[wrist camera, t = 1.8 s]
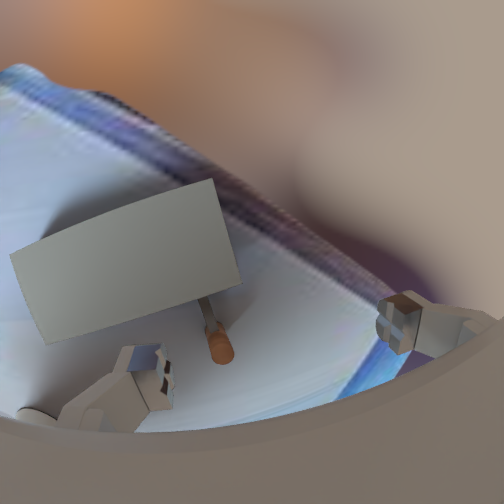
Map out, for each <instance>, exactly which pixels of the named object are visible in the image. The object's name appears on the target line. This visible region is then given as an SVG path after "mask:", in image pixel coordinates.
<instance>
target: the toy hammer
mask: <svg viewBox="0 0 504 504" xmlns="http://www.w3.org/2000/svg"><path fill="white" fill-rule="evenodd" d="M198 302H199V305H200V307H201V310H202V313H203V316H204V318H205V321H206V324H207V326H206V328H205V333H206V337H207V341H208V345H209V348H210V352H211V356H212V359H213V361H214V362H215V363H217V364H220V365H224V364H228V363H230V362H231V361H232V360H233V358H234V351H233V348H232V346H231V344H230V341H229V339H228V337H227V334H226V332H225V329H224V327H223V325H222V324H221V323H219V322H216V320H215V317H214V314H213V311H212V309H211V306H210V303H209V300H208V297H207V296H205V297H202V298H199V299H198Z"/></svg>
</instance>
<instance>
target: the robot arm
mask: <svg viewBox="0 0 504 504" xmlns="http://www.w3.org/2000/svg"><path fill="white" fill-rule="evenodd" d="M377 311H378V312H379V316H378V317H377V319H376V331H377V334H378V336H379V338H380V339H381V340H382V341H385V342H388V343H389V348H390V349H391V350H393V351H394V352H395V353H396V354H397V355H400V354H403V353H405V352H408V351H410V350H413V349H414V350H416V351H418V352H421V353H423V354H426V355H428V356H431V357H434V358H436V359H434V360H433V361H430V362H429V363H427V364H425V365H423V366H421V367H418V368H416V369H414V370H412V371H410V372H408V373H406V374H404V375H401V376H399V377H397V378H395V379H392V380H390V381H387V382H385V383H383V384H380V385H378V386H375V387H373V388H370V389H368V390H365V391H362V392H359V393H357V394H354V395H351V396H348V397H345V398H342V399H339V400H336V401H333V402H330V403H327V404H323V405H320V406H317V407H313V408H309V409H306V410H302V411H298V412H294V413H290V414H286V415H282V416H278V417H273V418H269V419H264V420H259V421H254V422H248V423H243V424H237V425H230V426H224V427H216V428H208V429H199V430H189V431H176V432H152V433H133V432H134V431H135V430H136V429H137V428H138V426H139V425H140V424H141V423H142V421H143V420H144V419H145V417H146V416H147V415H148V414H149V411H156V410H168V409H173V399H174V395H173V393H172V389H173V388H174V385H175V380H174V372H173V368H172V365H171V362H169V361H168V360H167V350H166V348H165V345H164V344H163V343H154V344H142V345H129V346H123V347H122V349H121V351H120V354H119V356H118V359H117V361H116V364H115V366H114V369H113V372H112V373H108V374H106V375H105V376H103V377H102V378H101V379H99V380H98V381H97V382H95V383H94V384H93V385H91V386H90V387H89V388H87V389H86V390H84V391H83V392H82V393H80V394H79V395H78V396H76V397H75V398H74V399H72V400H71V401H69V402H68V403H67V404H65V405H64V406H63V408H62V410H61V413H60V415H59V417H58V419H57V420H55V419H54V418H52V417H50V416H48V415H47V414H44V413H42V412H40V411H37V410H33V409H21V410H19V411H18V412H17V413H16V418H15V419H12V418H8V417H4V416H0V504H504V317H503V318H502V319H500V320H496V319H495V318H493V317H492V316H490V315H488V314H487V313H485V312H483V311H479V310H472V309H465V308H460V307H454V306H448V305H442V304H432V303H431V302H429V301H428V300H426V299H424V298H423V297H421V296H419V295H418V294H416V293H415V292H413V291H411V290H407V291H405V292H402V293H399V294H396V295H393V296H390V297H387V298H384V299H381V300H379V302H378V305H377Z"/></svg>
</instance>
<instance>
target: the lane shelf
mask: <svg viewBox="0 0 504 504" xmlns="http://www.w3.org/2000/svg"><path fill="white" fill-rule="evenodd" d="M10 259H11V262H12V265H13V268H14V271H15V274H16V277H17V280H18V283H19V285H20V288H21V291H22V293H23V296H24V298H25V301H26V303H27V306H28V308H29V310H30V313H31V315H32V317H33V319H34V322H35V324H36V326H37V328H38V330H39V332H40V334H41V336H42V338H43V340H44V342H45V344H46V345H49V344H53V343H56V342H60V341H64V340H67V339H70V338H74V337H77V336H81V335H84V334H88V333H91V332H94V331H98V330H101V329H104V328H108V327H111V326H114V325H117V324H121V323H124V322H127V321H130V320H134V319H137V318H140V317H143V316H146V315H150V314H153V313H156V312H159V311H162V310H165V309H168V308H171V307H174V306H178V305H181V304H184V303H187V302H190V301H193V300H196V299H199V298H202V297H205V296H208V295H211V294H214V293H217V292H220V291H223V290H226V289H228V288H231V287H234V286H237V285H240V284H243V283H242V280H241V277H240V273H239V270H238V266H237V263H236V260H235V256H234V253H233V249H232V246H231V243H230V239H229V236H228V232H227V229H226V225H225V222H224V218H223V215H222V211H221V208H220V204H219V201H218V197H217V194H216V190H215V186H214V183H213V179H212V178H210V179H207V180H203V181H200V182H196V183H193V184H189V185H186V186H183V187H179V188H176V189H173V190H170V191H167V192H164V193H160V194H157V195H154V196H151V197H148V198H145V199H142V200H139V201H137V202H134V203H131V204H128V205H125V206H122V207H120V208H117V209H114V210H112V211H109V212H106V213H104V214H101V215H98V216H96V217H93V218H91V219H88V220H86V221H83V222H81V223H78V224H76V225H73V226H71V227H69V228H66V229H64V230H61V231H59V232H57V233H55V234H52V235H50V236H48V237H46V238H43V239H41V240H39V241H37V242H35V243H32V244H30V245H28V246H26V247H24V248H22V249H20V250H18V251H16V252H14V253H12V254H10Z"/></svg>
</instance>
